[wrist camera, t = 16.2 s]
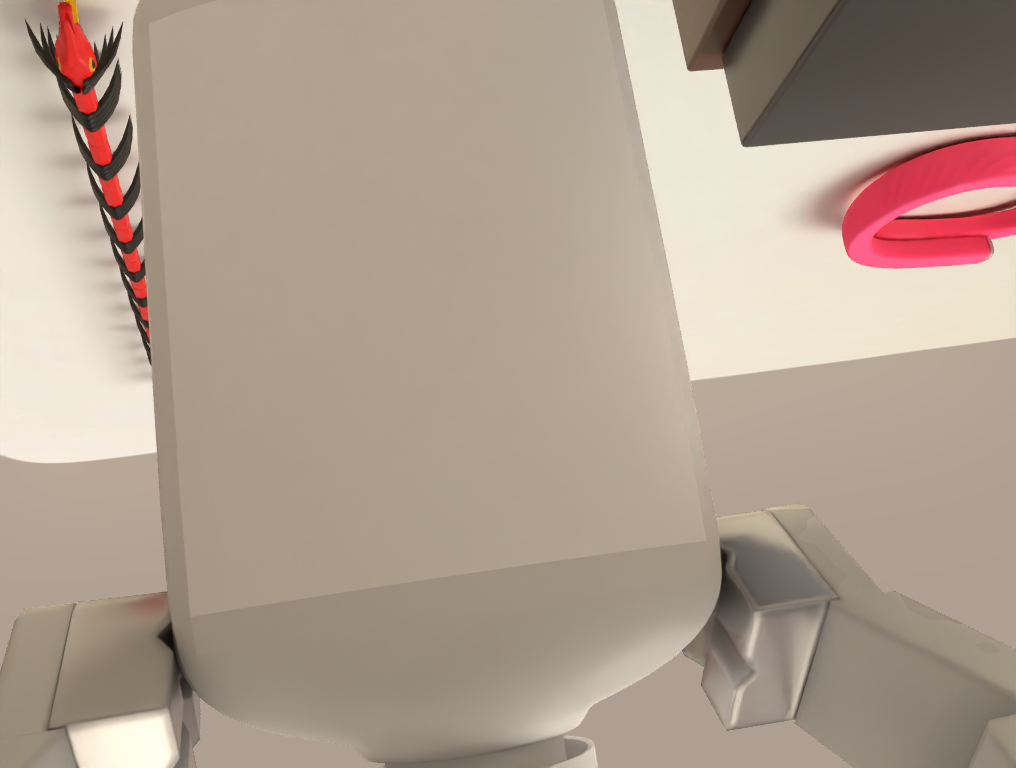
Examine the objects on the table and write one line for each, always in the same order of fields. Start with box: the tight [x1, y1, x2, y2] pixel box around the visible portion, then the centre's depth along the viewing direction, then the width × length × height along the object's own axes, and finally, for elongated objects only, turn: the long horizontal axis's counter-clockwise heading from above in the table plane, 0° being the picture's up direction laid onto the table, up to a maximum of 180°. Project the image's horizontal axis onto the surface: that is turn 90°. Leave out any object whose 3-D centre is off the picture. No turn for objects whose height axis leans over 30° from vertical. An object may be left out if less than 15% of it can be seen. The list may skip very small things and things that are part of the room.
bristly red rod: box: [25, 0, 152, 367], centre depth 23 cm, size 1×22×1 cm, turn 164°
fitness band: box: [842, 137, 1016, 269], centre depth 26 cm, size 8×6×2 cm
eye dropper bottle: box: [133, 0, 722, 768], centre depth 10 cm, size 4×6×12 cm
